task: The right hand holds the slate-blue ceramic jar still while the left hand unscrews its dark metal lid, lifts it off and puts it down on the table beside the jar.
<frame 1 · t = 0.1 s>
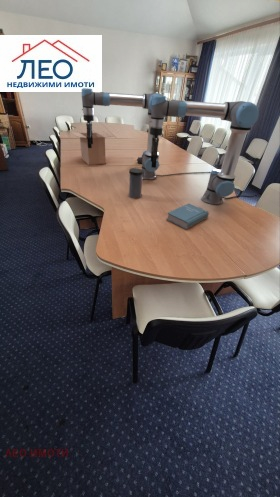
left hand: (90, 146, 173), 28 cm above the table, tool pointing down, fingers open, 13 cm apart
right hand: (153, 164, 143), 28 cm above the table, tool pointing down, fingers open, 13 cm apart
book: (187, 219, 144), on the table
box: (93, 161, 237), on the table
lid: (136, 170, 158), point 19 cm above the table, screwed on, not yet turned
jar: (135, 195, 170), on the table
laser sight: (147, 164, 240), on the table
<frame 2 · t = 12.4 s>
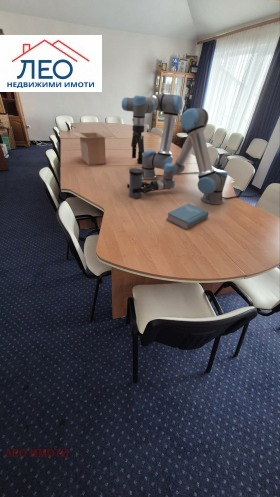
left hand: (136, 160, 154), 26 cm above the table, tool pointing down, fingers open, 11 cm apart
right hand: (129, 188, 164), 6 cm above the table, tool horizontal, fingers closed on jar, 9 cm apart
jar: (135, 195, 170), on the table, touching right hand
everything else where it was.
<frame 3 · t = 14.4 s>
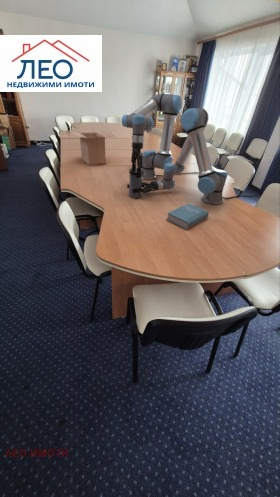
left hand: (136, 175, 160), 16 cm above the table, tool pointing down, fingers closed on lid, 10 cm apart
right hand: (129, 188, 164), 6 cm above the table, tool horizontal, fingers closed on jar, 9 cm apart
lid: (136, 170, 158), point 19 cm above the table, screwed on, not yet turned, touching left hand
jar: (135, 195, 170), on the table, touching right hand
everything else where it was.
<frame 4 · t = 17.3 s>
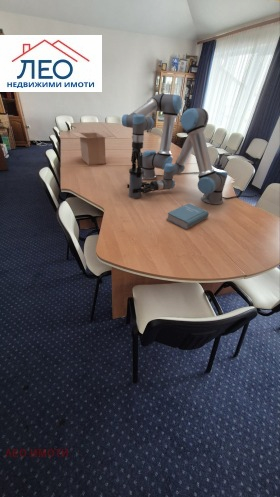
left hand: (136, 174, 160), 16 cm above the table, tool pointing down, fingers closed on lid, 10 cm apart
right hand: (129, 188, 164), 6 cm above the table, tool horizontal, fingers closed on jar, 9 cm apart
lid: (136, 170, 158), point 19 cm above the table, turned 75° so far, risen 0.2 cm, still on its thread, touching left hand
jar: (135, 195, 170), on the table, touching right hand
everything else where it was.
when the left hand's fingers open (0 cm above the table, at t = 24.8 s): lid drops 2 cm, point 2 cm above the table.
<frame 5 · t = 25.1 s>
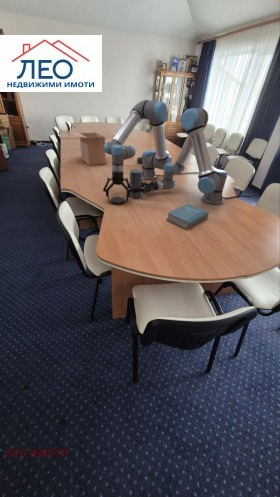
left hand: (117, 200, 159), 1 cm above the table, tool pointing down, fingers open, 13 cm apart
right hand: (129, 188, 164), 6 cm above the table, tool horizontal, fingers closed on jar, 9 cm apart
lid: (117, 199, 158), point 2 cm above the table, off its thread
jar: (135, 195, 170), on the table, touching right hand
everything else where it was.
when the right hand's fingers open (6 cm above the table, at t = 25.8 s): jar stays where it is, on the table.
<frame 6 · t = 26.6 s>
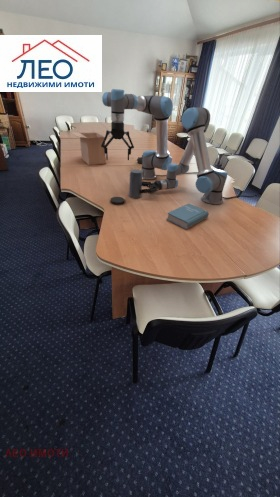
left hand: (117, 159, 142), 29 cm above the table, tool pointing down, fingers open, 13 cm apart
right hand: (135, 188, 166), 6 cm above the table, tool horizontal, fingers open, 13 cm apart
jar: (135, 195, 170), on the table
everything else where it was.
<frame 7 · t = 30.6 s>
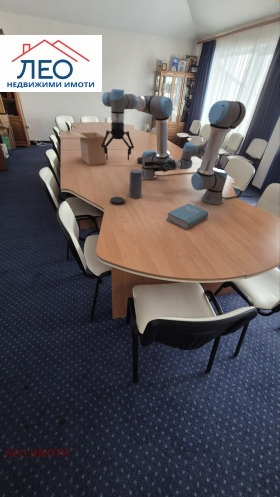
left hand: (117, 159, 142), 29 cm above the table, tool pointing down, fingers open, 13 cm apart
right hand: (148, 166, 161), 21 cm above the table, tool horizontal, fingers open, 13 cm apart
nothing on the table moved.
at the end: lid came off its thread; lid point 1.6 cm above the table; the left hand is holding nothing; the right hand is holding nothing; jar tilted 0°; jar moved 0.0 cm from its start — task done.
